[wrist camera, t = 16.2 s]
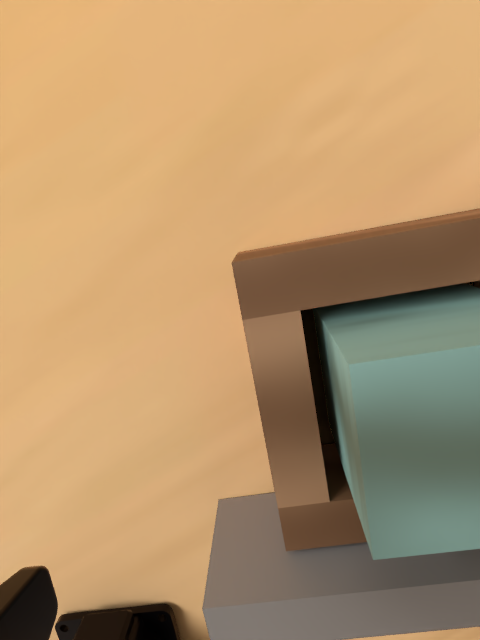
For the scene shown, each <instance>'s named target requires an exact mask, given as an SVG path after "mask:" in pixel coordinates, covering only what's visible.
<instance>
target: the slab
mask: <svg viewBox="0 0 480 640" xmlns="http://www.w3.org/2000/svg"><path fill="white" fill-rule="evenodd" d="M202 609H203V613H204V617H205V621H206V625H207V629H208V633H209V637H210V640H342V639H353V638H363V637H374V636H385V635H395V634H406V633H416V632H427V631H437V630H448V629H458V628H469V627H480V549H473V550H463V551H454V552H445V553H435V554H426V555H416V556H407V557H397V558H388V559H379V560H373V558H372V555H371V552H370V549H369V546H368V543H367V542H363V543H354V544H345V545H337V546H328V547H319V548H311V549H302V550H293V551H286V549H285V543H284V538H283V533H282V527H281V522H280V517H279V511H278V506H277V501H276V495H275V492H274V493H266V494H258V495H251V496H243V497H235V498H227V499H220V500H219V501H218V508H217V515H216V521H215V528H214V535H213V541H212V548H211V555H210V562H209V568H208V575H207V582H206V588H205V595H204V602H203V608H202Z"/></svg>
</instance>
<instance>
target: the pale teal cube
mask: <svg viewBox="0 0 480 640" xmlns="http://www.w3.org/2000/svg"><path fill="white" fill-rule="evenodd" d="M313 314H314V321H315V328H316V335H317V342H318V349H319V356H320V363H321V371H322V378H323V385H324V392H325V399H326V406H327V413H328V420H329V426H330V429H331V432H332V435H333V438H334V442H335V445H336V448H337V451H338V454H339V457H340V460H341V463H342V466H343V469H344V472H345V475H346V478H347V481H348V484H349V488H350V491H351V494H352V497H353V500H354V503H355V506H356V509H357V512H358V515H359V518H360V521H361V524H362V527H363V531H364V534H365V537H366V540H367V543H368V546H369V549H370V552H371V555H372V558H373V560H379V559H388V558H397V557H407V556H416V555H426V554H435V553H445V552H454V551H463V550H473V549H480V288H478V287H475V286H472V285H469V284H466V283H461V284H455V285H449V286H443V287H437V288H431V289H425V290H419V291H413V292H407V293H401V294H395V295H389V296H383V297H377V298H371V299H365V300H359V301H353V302H347V303H342V304H336V305H330V306H324V307H318V308H313Z"/></svg>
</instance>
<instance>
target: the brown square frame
mask: <svg viewBox="0 0 480 640" xmlns="http://www.w3.org/2000/svg"><path fill="white" fill-rule="evenodd" d="M232 267H233V272H234V277H235V283H236V288H237V293H238V299H239V304H240V309H241V315H242V320H243V325H244V331H245V336H246V341H247V347H248V352H249V357H250V362H251V368H252V373H253V378H254V384H255V389H256V394H257V400H258V405H259V410H260V416H261V421H262V426H263V432H264V437H265V442H266V448H267V453H268V458H269V464H270V469H271V474H272V479H273V485H274V490H275V495H276V501H277V506H278V511H279V517H280V522H281V527H282V533H283V538H284V543H285V549H286V551H293V550H302V549H311V548H319V547H328V546H337V545H345V544H354V543H363V542H367V540H366V537H365V534H364V531H363V527H362V524H361V521H360V518H359V515H358V512H357V509H356V506H355V503H354V500H353V497H352V494H351V491H350V488H349V484H348V481H347V478H346V475H345V472H344V469H343V466H342V463H341V460H340V457H339V454H338V451H337V448H336V445H335V443H334V444H327V445H321V441H320V435H319V428H318V422H317V415H316V409H315V403H314V396H313V390H312V383H311V377H310V370H309V364H308V357H307V351H306V344H305V338H304V331H303V325H302V318H301V312H300V310H306V309H312V308H318V307H324V306H330V305H336V304H342V303H347V302H353V301H359V300H365V299H371V298H377V297H383V296H389V295H395V294H401V293H407V292H413V291H419V290H425V289H431V288H437V287H443V286H449V285H455V284H461V283H467V282H473V281H474V285H475V287H478V288H480V209H475V210H469V211H464V212H458V213H453V214H447V215H442V216H436V217H431V218H425V219H420V220H414V221H409V222H403V223H398V224H392V225H387V226H381V227H376V228H370V229H365V230H360V231H354V232H349V233H343V234H338V235H332V236H327V237H321V238H316V239H310V240H305V241H299V242H294V243H288V244H283V245H277V246H272V247H266V248H261V249H255V250H250V251H244V252H239V253H238V254H237V255H236V257H235V258H234V260H233V262H232Z"/></svg>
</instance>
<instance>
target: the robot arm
mask: <svg viewBox="0 0 480 640" xmlns="http://www.w3.org/2000/svg"><path fill="white" fill-rule="evenodd" d="M57 609H58V603H57V597H56V594H55V591H54V587H53V584H52V581H51V577H50V574H49V571H48V569H47V568H46V567H45V566H33V567H25V568H22V569H21V570H19V571H18V572H17V573H15V574H14V575H13V576H11V577H10V578H9V579H8V580H6V581H5V582H4V583H2V584H1V585H0V640H49V637H50V634H51V631H52V628H53V625H54V622H55V619H56V615H57ZM55 629H56V632H57V635H58V638H59V640H181V639H180V635H179V632H178V628H177V624H176V621H175V617H174V613H173V610H172V608H171V607H170V606H169V605H166V604H156V605H147V606H137V607H128V608H119V609H109V610H100V611H90V612H81V613H72V614H64V615H61V616H60V617H59V619H58V621H57V623H56V625H55Z"/></svg>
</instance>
